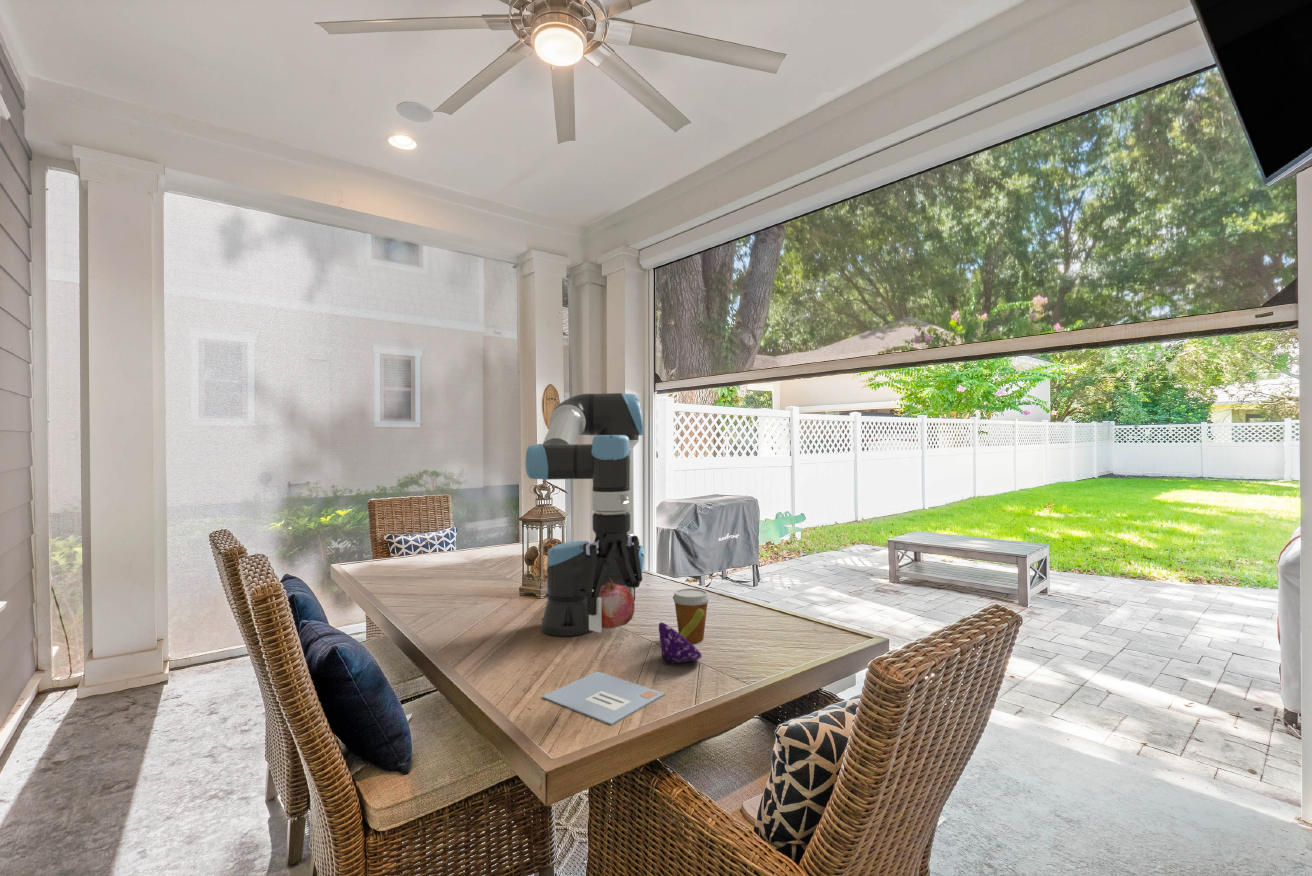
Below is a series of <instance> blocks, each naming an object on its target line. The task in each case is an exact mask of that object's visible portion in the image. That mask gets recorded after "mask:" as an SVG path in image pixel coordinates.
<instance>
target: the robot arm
mask: <svg viewBox="0 0 1312 876" xmlns="http://www.w3.org/2000/svg"><path fill="white" fill-rule="evenodd" d="M549 426H550V427H549V428H548V431H547V433H546V435H545V437H544V440H543V442H542V443H538V444H531V445H529V446H527V448H526V451H525V452H526V453H525V472H526V475H527V477H528V478H529V479H531V480H543V481H546V480H547V481H548V480H550V481H551V480H552V481H553V480H592V491H591V492H592V497H591V498H592V501H591V502H592V503H591V504H592V505H591V506H592V507H591V508H592V511H593V512H594V513H593V514H592V531H593V532H594V533H595V538H594V540H593V541H594V542H591V543H590V541H588V540H574V541H568V542H562V543H560V544H559V543H558V544H556V545H554V546H552V547H550V548H549V549H548V552H547V556H546V557H547V558H546V559H547V561H546V562H547V563H546V572H547V574H546V575H547V577H546V578H547V579H546V580H547V592H546V593H547V601H546V605H545V608H544V613H543V616H542V618H541V621H540V630H541V632H542V633H544V634H546V635H549V636H554V637H555V636H556V637H573V636H574V637H575V636H580V635H585V634H588V633H591V632H595V633H602V630H603V628H602V599H601V598H600V597H598V595H599V592H600V589H601V587H602V586H603V585H606V583H607V581H608V582H610V581H609V577H610V579H611V580H612V582H613V583H615V584H620V585H622V586H624V587H626V588H627V589H628V590H629V591H630V592H631V594H632V595H633V597H634V602H635V601H636V589H637V588H639V587H640V585H641V583H642V581H643V569H644V563H645V560H644V559H645V551H646V550H645V546H644V545H642V544H640V538H639V537H638V536H637V535H636V534H635V521H634V520H635V518H634V517H635V510H634V507H635V505H634V504H635V503H634V502H635V501H634V498H635V497H634V486H635V485H634V484H635V483H634V448H635V446H636V445H637V444H638V443H639V439H640V437H639V436H643V435H644V434H645V433H644V424H643V416H642V409H641V402H640V398H639V397H638V395H636V394H634V393H625V392H620V393H617V392H616V393H615V392H614V393H581V394H577V395H574V396H572V397H569V398H566V399H565V400H564V401H562V402H560V403H559V404H558V405H556V407H554V409H553V410H552V411H551V415H550V417H549ZM580 436H593V438H592V443H591V444H587V443H586V444H578V441H579V437H580ZM634 620H635V613H634V614H633V616H632V618H631V620H630V621H634Z"/></svg>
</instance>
